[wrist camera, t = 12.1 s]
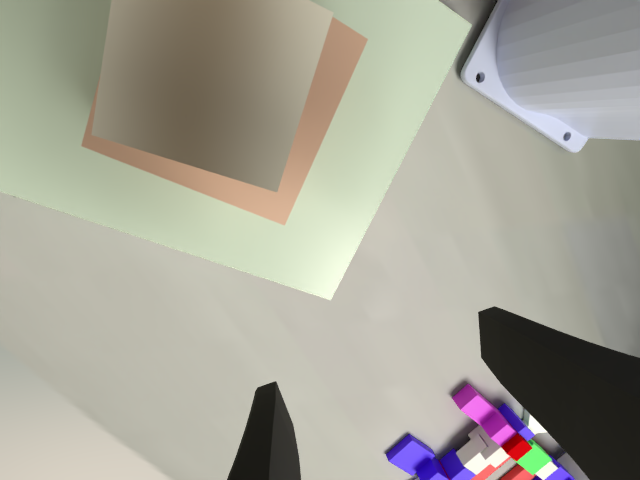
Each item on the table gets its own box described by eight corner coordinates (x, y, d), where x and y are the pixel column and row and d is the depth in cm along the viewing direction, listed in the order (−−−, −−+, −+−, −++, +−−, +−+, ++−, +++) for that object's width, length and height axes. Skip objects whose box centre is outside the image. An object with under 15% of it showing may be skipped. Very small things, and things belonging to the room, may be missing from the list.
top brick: (302, 54, 12) (333, 12, 8) (268, 168, 13) (277, 192, 9) (179, -1, 11) (125, -92, 6) (153, 130, 12) (91, 134, 7)
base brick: (346, 54, 15) (368, 39, 12) (279, 208, 17) (284, 225, 14) (170, -53, 13) (147, -102, 10) (113, 141, 15) (81, 145, 12)
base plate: (459, 30, 17) (472, 25, 16) (327, 292, 20) (330, 300, 19) (64, -256, 11) (47, -290, 10) (-21, 175, 15) (-39, 178, 14)
